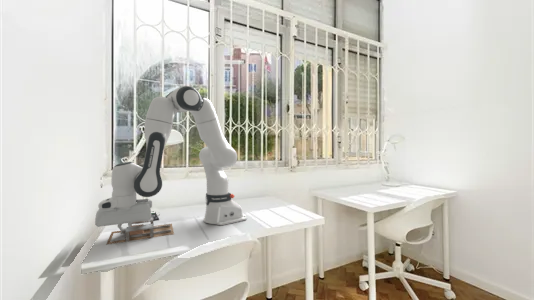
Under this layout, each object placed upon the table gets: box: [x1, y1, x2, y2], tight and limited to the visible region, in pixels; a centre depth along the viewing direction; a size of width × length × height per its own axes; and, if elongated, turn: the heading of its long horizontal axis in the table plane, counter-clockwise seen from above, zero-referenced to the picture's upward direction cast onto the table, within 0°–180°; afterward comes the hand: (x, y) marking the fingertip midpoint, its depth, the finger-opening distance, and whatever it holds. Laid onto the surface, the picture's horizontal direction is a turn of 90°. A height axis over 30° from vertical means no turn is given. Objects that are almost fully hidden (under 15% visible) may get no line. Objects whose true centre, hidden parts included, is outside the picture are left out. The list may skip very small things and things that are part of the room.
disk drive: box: [135, 211, 160, 225], centre depth 123 cm, size 10×3×15 cm
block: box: [129, 223, 144, 235], centre depth 101 cm, size 5×5×3 cm
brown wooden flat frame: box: [105, 218, 175, 246], centre depth 102 cm, size 24×14×6 cm, turn 116°
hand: (125, 233), depth 100 cm, fingers closed
